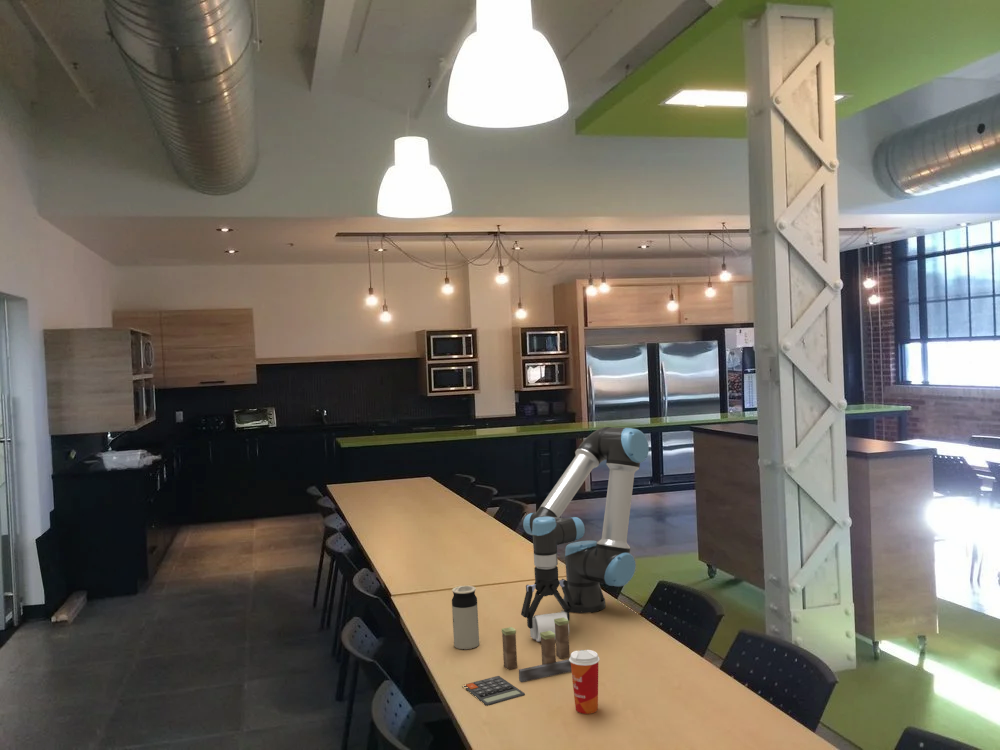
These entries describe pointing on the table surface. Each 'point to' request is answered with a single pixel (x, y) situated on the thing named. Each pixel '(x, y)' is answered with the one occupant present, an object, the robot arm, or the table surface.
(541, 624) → the mug
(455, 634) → the travel mug
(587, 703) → the paper cup
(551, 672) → the header dock
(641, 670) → the table surface
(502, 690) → the calculator
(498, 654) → the table surface
